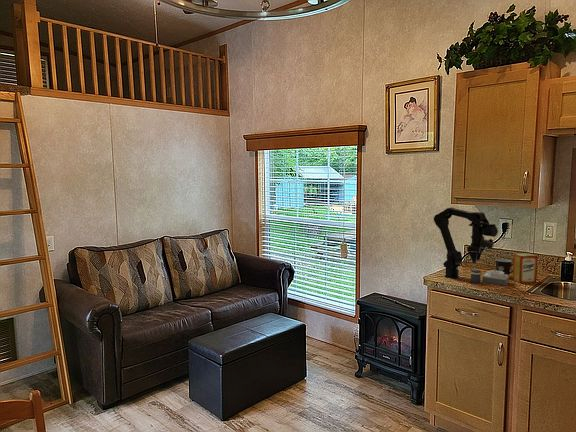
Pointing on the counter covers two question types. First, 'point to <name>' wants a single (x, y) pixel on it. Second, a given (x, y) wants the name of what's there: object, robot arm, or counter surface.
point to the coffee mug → (503, 265)
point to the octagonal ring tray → (495, 278)
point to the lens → (475, 276)
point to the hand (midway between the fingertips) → (476, 261)
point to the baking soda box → (525, 268)
